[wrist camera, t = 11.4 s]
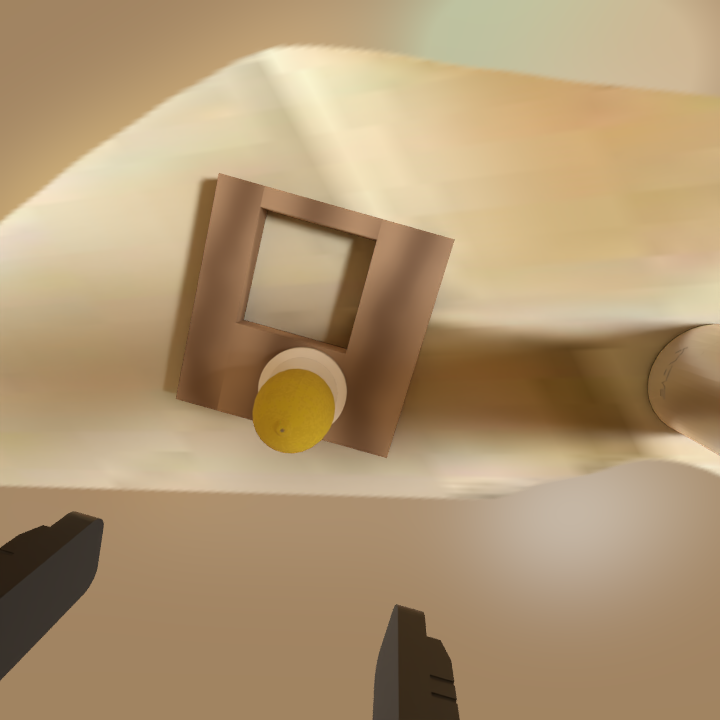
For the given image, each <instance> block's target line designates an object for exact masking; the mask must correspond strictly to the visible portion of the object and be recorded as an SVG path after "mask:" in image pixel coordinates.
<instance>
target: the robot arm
mask: <svg viewBox="0 0 720 720" xmlns="http://www.w3.org/2000/svg"><path fill="white" fill-rule="evenodd" d="M648 394H649V400H650V403H651V405H652V408H653V410H654V412H655V413H656V414H657V416H658V417H659V419H660V420H662V421H663V422H664V423H665V424H666V425H667V426H669V427H671V428H672V429H674V430H676V431H678V432H679V433H681V434H683V435H685V436H687V437H688V438H690V439H692V440H694V441H695V442H697V443H699V444H701V445H702V446H704V447H706V448H707V449H709V450H711V451H713V452H714V453H716V454H718V455H720V324H712V325H704V326H700V327H697V328H694V329H690V330H688V331H686V332H684V333H683V334H681V335H679V336H677V337H676V338H675V339H673V340H672V341H671V342H670V343H669V344H667V345H666V347H665V348H664V349H663V350H662V351H661V352H660V354H659V355H658V357H657V358H656V360H655V362H654V364H653V365H652V369H651V372H650V375H649V380H648ZM103 525H104V523H103V520H102V519H99V518H96V517H92V516H89V515H86V514H82V513H78V512H71V513H68V514H67V515H66V516H64V517H63V518H62V519H60V520H59V521H58V522H56V523H55V524H53V525H52V526H51V527H47V526H44V525H43V526H40V527H38V528H35V529H32V530H30V531H27V532H25V533H22V534H20V535H18V536H16V537H15V538H14V539H12V540H11V541H9V542H8V543H6V544H5V545H4V546H2V547H1V548H0V680H1V679H2V678H3V677H4V676H5V675H6V674H7V673H8V672H9V671H10V670H11V669H12V668H13V667H14V666H15V665H16V664H17V662H19V661H20V660H21V658H22V657H23V656H24V655H25V654H26V653H27V652H28V651H29V650H30V649H31V648H32V647H33V646H34V645H35V644H36V643H37V642H38V641H39V640H40V639H41V638H42V637H43V636H44V635H45V634H46V633H47V632H48V630H50V628H51V627H52V626H53V625H54V624H55V623H56V622H57V621H58V620H59V619H60V618H61V617H62V616H63V615H64V614H65V613H66V612H67V611H68V610H69V609H70V608H71V606H73V604H75V603H76V601H77V600H78V599H79V598H80V597H81V596H82V595H83V594H84V593H85V592H86V591H87V589H88V588H89V586H90V584H91V583H92V581H93V579H94V577H95V574H96V571H97V567H98V561H99V554H100V547H101V540H102V534H103ZM425 625H426V624H425V615H424V612H422V611H418V610H415V609H411V608H407V607H404V606H401V605H397V604H396V605H395V607H394V609H393V612H392V615H391V618H390V621H389V624H388V627H387V630H386V633H385V636H384V639H383V643H382V646H381V649H380V652H379V656H378V660H377V665H376V673H375V683H374V703H373V720H460V719H459V712H458V705H457V704H456V700H457V698H456V691H455V686H454V677H453V670H452V663H451V660H450V657H449V656H448V654H447V652H446V650H445V648H444V646H443V644H442V642H441V640H438V639H434V638H431V637H427V636H426V626H425Z"/></svg>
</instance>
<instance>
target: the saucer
mask: <svg viewBox="0 0 720 720" xmlns="http://www.w3.org/2000/svg"><path fill="white" fill-rule="evenodd" d="M288 369H304V370H309V371H311V372H313V373H315V374H317V375H319V376H320V377H321V378H322V379H324V381H325V382H326V383H327V384H328V386H329V387H330V389H331V391H332V394H333V396H334V402H335V414H334V420H333V422H332V424H333V423H334V422H335V421H336V420H337V418H338V417H339V416H340V414H341V412H342V410H343V408H344V405H345V402H346V397H347V383H346V379H345V376H344V373H343V371H342V369H341V368H340V366H339V365H338V364H337V362H336V361H335V360H334V359H333V358H332V357H330V356H329V355H328V354H326V353H324V352H322V351H320V350H318V349H315V348H311V347H294V348H290V349H287V350H285V351H282V352H281V353H279V354H278V355H276V356H275V357H274V358H273V359H271V360H270V361H269V362H268V364H267V365H266V366H265V368H264V369H263V371H262V373H261V376H260V379H259V384H258V392H259V390H260V388H261V387H262V386H263V385H264V384H265V383H266V381H267V380H268V379H269V378H271V377H272V376H274V375H276V374H277V373H279V372H282V371H285V370H288Z"/></svg>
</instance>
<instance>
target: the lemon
mask: <svg viewBox="0 0 720 720" xmlns="http://www.w3.org/2000/svg"><path fill="white" fill-rule="evenodd" d="M334 414H335V402H334V396H333V394H332V391H331V389H330V387H329V386H328V384H327V383H326V382H325V381H324V379H322V378H321V377H320V376H319V375H317V374H315V373H313V372H311V371H309V370H304V369H288V370H285V371H282V372H279V373H277V374H276V375H274V376H272V377H271V378H269V379H268V380H267V381H266V383H265V384H264V385H263V386H262V387H261V388H260V390H259V392H258V394H257V396H256V398H255V402H254V406H253V423H254V427H255V430H256V432H257V434H258V435H259V437H260V439H261V440H262V441H263V442H264V443H265V444H266V445H267V446H269V447H271V448H272V449H274V450H276V451H280V452H283V453H297V452H303V451H305V450H307V449H309V448H312V447H313V446H314V445H316V444H317V443H318V442H320V441H321V440H322V439H323V438H324V436H325V435H326V434H327V432H328V431H329V429H330V427H331V425H332V422H333V420H334Z"/></svg>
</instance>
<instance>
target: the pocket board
mask: <svg viewBox="0 0 720 720" xmlns="http://www.w3.org/2000/svg"><path fill="white" fill-rule="evenodd" d="M267 210H268V211H272V212H276V213H279V214H283V215H286V216H290V217H293V218H297V219H300V220H304V221H307V222H311V223H315V224H318V225H322V226H325V227H329V228H332V229H336V230H339V231H343V232H346V233H350V234H354V235H357V236H361V237H364V238H368V239H371V240H375V241H377V242H376V245H375V249H374V253H373V256H372V260H371V264H370V267H369V271H368V275H367V278H366V282H365V286H364V289H363V293H362V296H361V300H360V304H359V307H358V311H357V315H356V318H355V322H354V326H353V329H352V333H351V337H350V340H349V344H348V348H347V349H345V348H342V347H338V346H334V345H331V344H327V343H324V342H320V341H317V340H313V339H310V338H306V337H302V336H299V335H295V334H292V333H288V332H285V331H281V330H278V329H274V328H270V327H267V326H263V325H260V324H256V323H253V322H249V321H246V320H244V316H245V311H246V307H247V302H248V297H249V293H250V288H251V284H252V279H253V274H254V270H255V265H256V261H257V256H258V251H259V247H260V242H261V238H262V233H263V228H264V224H265V219H266V215H267ZM453 243H454V239H451V238H447V237H444V236H440V235H436V234H433V233H429V232H426V231H422V230H419V229H415V228H412V227H408V226H405V225H401V224H397V223H394V222H390V221H387V220H383V219H380V218H376V217H373V216H369V215H366V214H362V213H359V212H355V211H351V210H348V209H344V208H341V207H337V206H334V205H330V204H327V203H323V202H320V201H316V200H312V199H309V198H305V197H302V196H298V195H295V194H291V193H288V192H284V191H281V190H277V189H274V188H270V187H266V186H263V185H259V184H256V183H252V182H249V181H245V180H242V179H238V178H235V177H231V176H227V175H224V174H220V173H219V175H218V181H217V186H216V191H215V196H214V202H213V207H212V212H211V217H210V223H209V228H208V233H207V238H206V244H205V249H204V254H203V259H202V265H201V270H200V275H199V280H198V286H197V291H196V296H195V301H194V307H193V312H192V317H191V322H190V328H189V333H188V338H187V343H186V349H185V354H184V359H183V364H182V370H181V375H180V380H179V385H178V391H177V396H176V399H179V400H182V401H186V402H189V403H193V404H196V405H200V406H204V407H207V408H211V409H214V410H218V411H221V412H225V413H229V414H232V415H236V416H239V417H243V418H246V419H250V420H253V406H254V402H255V398H256V396H257V394H258V384H259V379H260V376H261V373H262V371H263V369H264V368H265V366H266V365H267V364H268V362H269V361H270V360H271V359H273V358H274V357H275V356H276V355H278V354H279V353H281V352H282V351H285V350H287V349H290V348H294V347H311V348H315V349H318V350H320V351H322V352H324V353H326V354H328V355H329V356H330V357H332V358H333V359H334V360H335V361H336V362H337V364H338V365H339V366H340V368H341V369H342V371H343V373H344V376H345V379H346V383H347V397H346V402H345V405H344V408H343V410H342V412H341V414H340V416H339V417H338V418H337V420H336V421H335V422H334V423H333V424H332V425H331V427H330V429H329V431H328V432H327V434H326V435H325V436H324V438H323V439H322V440H325V441H328V442H332V443H335V444H339V445H342V446H346V447H350V448H353V449H357V450H360V451H364V452H367V453H371V454H374V455H378V456H382V457H385V458H387V455H388V452H389V448H390V445H391V442H392V439H393V436H394V432H395V429H396V426H397V423H398V419H399V416H400V413H401V410H402V407H403V403H404V400H405V397H406V394H407V391H408V387H409V384H410V381H411V378H412V375H413V371H414V368H415V365H416V362H417V358H418V355H419V352H420V349H421V346H422V342H423V339H424V336H425V333H426V330H427V326H428V323H429V320H430V317H431V314H432V310H433V307H434V304H435V301H436V298H437V294H438V291H439V288H440V285H441V281H442V278H443V275H444V272H445V269H446V265H447V262H448V259H449V256H450V253H451V249H452V246H453Z"/></svg>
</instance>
